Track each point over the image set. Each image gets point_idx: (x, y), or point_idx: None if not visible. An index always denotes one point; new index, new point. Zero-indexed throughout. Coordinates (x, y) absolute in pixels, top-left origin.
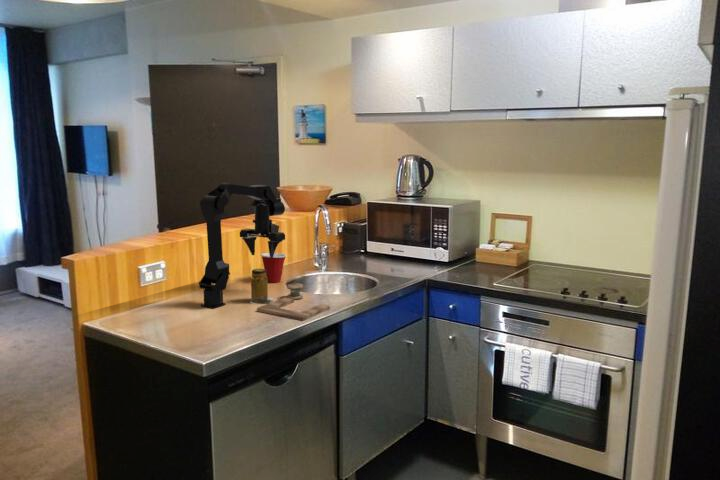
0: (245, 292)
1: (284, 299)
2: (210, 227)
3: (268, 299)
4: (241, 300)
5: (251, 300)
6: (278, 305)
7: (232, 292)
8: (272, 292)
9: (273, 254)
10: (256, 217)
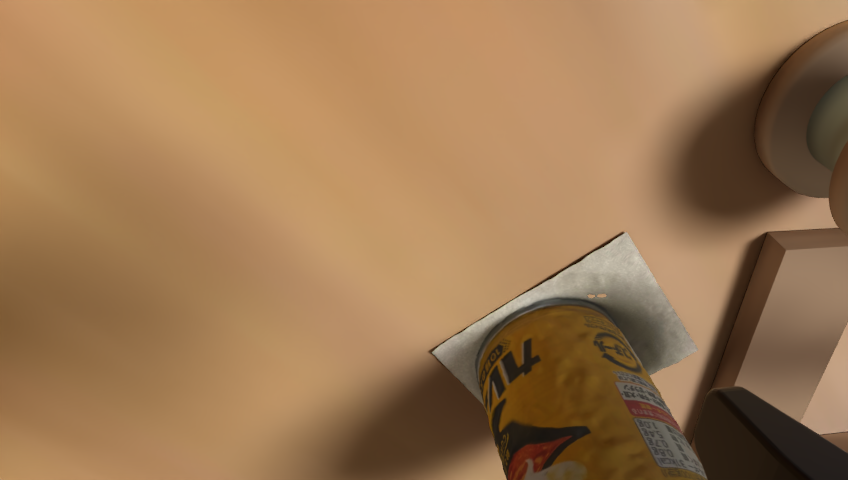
0: (201, 239)
1: (801, 295)
2: None
3: (600, 289)
4: (392, 425)
5: (476, 387)
6: (800, 412)
7: (79, 315)
8: (486, 60)
9: (822, 455)
10: None
